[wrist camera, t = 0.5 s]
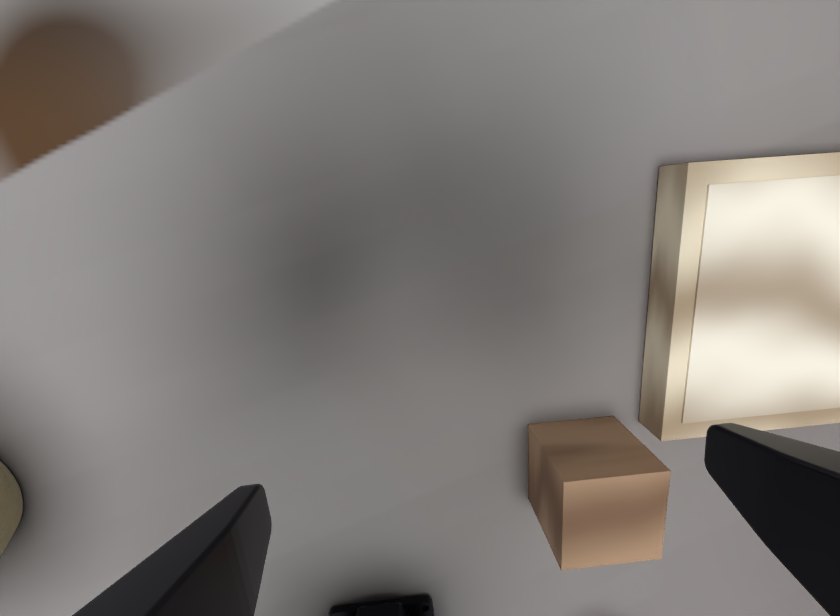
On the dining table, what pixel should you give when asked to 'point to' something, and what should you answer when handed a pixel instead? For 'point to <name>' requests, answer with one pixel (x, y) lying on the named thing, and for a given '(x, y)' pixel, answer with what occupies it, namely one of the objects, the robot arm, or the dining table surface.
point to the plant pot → (9, 506)
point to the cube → (596, 492)
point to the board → (744, 296)
